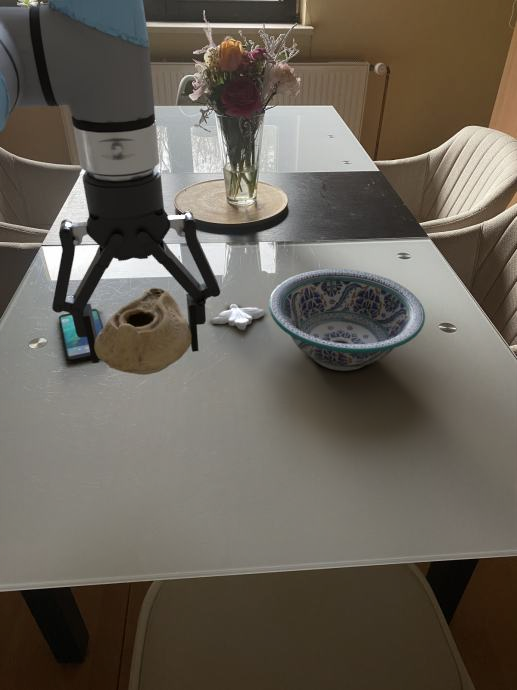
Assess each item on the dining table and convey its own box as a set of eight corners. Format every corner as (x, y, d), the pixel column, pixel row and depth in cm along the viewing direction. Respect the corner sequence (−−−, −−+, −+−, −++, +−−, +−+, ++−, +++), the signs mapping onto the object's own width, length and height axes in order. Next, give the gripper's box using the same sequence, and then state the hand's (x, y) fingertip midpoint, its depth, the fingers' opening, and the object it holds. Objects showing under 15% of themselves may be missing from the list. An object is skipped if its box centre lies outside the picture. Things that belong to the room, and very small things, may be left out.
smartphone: (67, 360, 88) (58, 314, 99) (68, 364, 88) (58, 318, 100) (111, 351, 90) (97, 307, 101) (111, 355, 91) (97, 310, 102)
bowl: (359, 423, 78) (368, 372, 73) (237, 353, 92) (237, 305, 86) (441, 350, 93) (453, 303, 88) (325, 299, 107) (330, 255, 101)
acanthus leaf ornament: (264, 315, 102) (264, 307, 101) (248, 333, 97) (248, 325, 96) (229, 305, 104) (229, 297, 103) (212, 323, 99) (211, 314, 98)
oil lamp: (194, 318, 72) (190, 265, 67) (192, 392, 60) (187, 332, 55) (111, 322, 71) (101, 268, 66) (92, 397, 59) (78, 337, 54)
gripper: (-15, 189, 47) (41, 382, 60) (246, 174, 51) (246, 357, 64) (-1, 163, 53) (47, 344, 66) (232, 152, 57) (235, 323, 70)
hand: (145, 350), depth 65 cm, fingers closed on oil lamp, 11 cm apart
